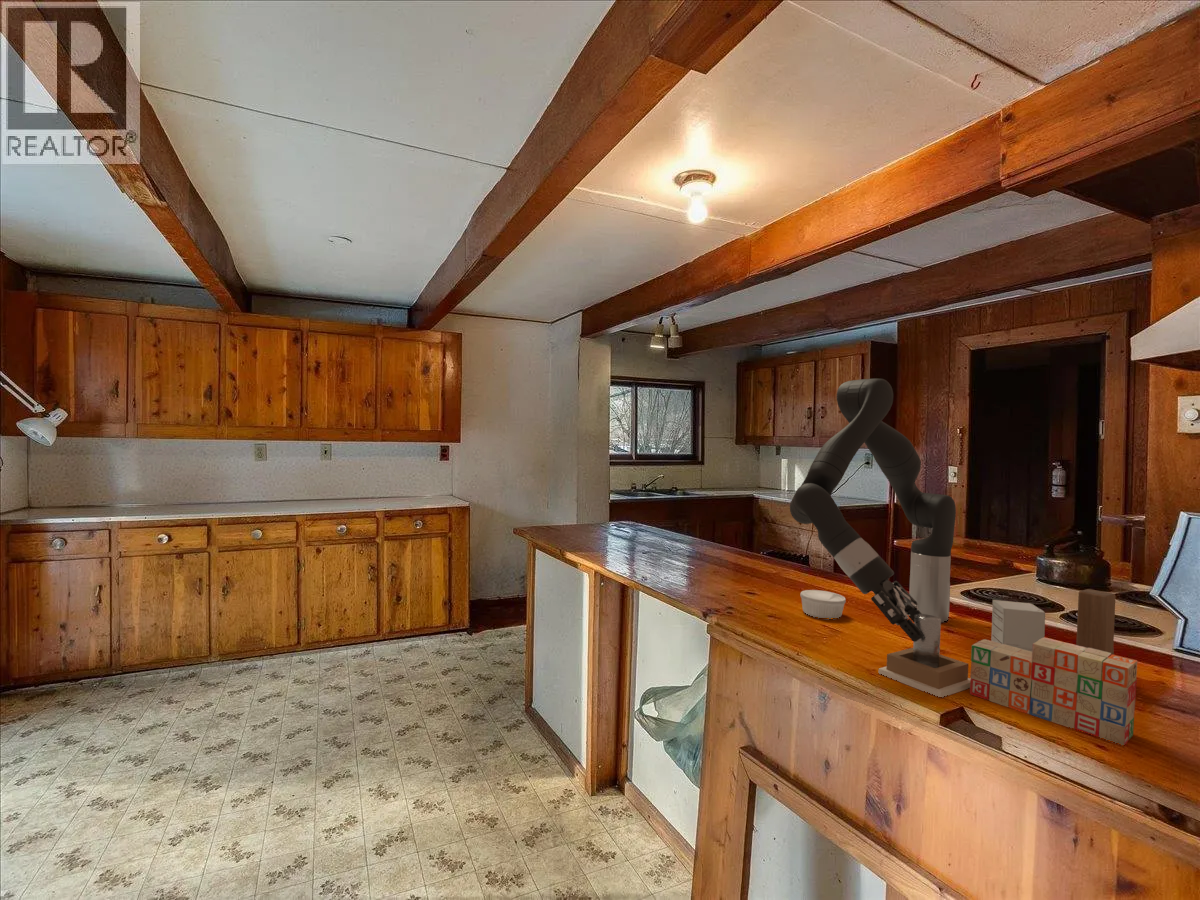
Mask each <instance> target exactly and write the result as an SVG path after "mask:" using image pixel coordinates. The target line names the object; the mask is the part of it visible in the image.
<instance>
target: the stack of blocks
mask: <svg viewBox="0 0 1200 900" xmlns="http://www.w3.org/2000/svg"><path fill="white" fill-rule="evenodd" d="M970 654H971V655H970V661H971V664H970V674H969V675H970V677H969V678H970V679H971V681H970V688H969V695H971V696H975V697H978V698H981V699H982V700H983V699H984V700H986V701H989V702H992V703H994V704H997V705H1000V706H1003V707H1006V708H1009V709H1012V710H1015V711H1018V712H1020V713H1021V712H1022V713H1023V714H1026V715H1031V716H1033V717H1037V718H1039V719H1043V720H1046V721H1048V722H1052V723H1054V724H1057V725H1061V726H1064V727H1067V728H1069V727H1070V728H1069V729H1072V728H1074V729H1073V730H1075V729H1077V730H1076V731H1078V730H1080V731H1083V732H1086V733H1089V734H1092V735H1095V736H1098V737H1100V738H1099V739H1101V738H1104V739H1106V740H1105V741H1107V740H1110V741H1113V742H1115V743H1114V744H1116V743H1119V744H1121V745H1120V746H1122V745H1125V744H1126V745H1127V744H1128V742H1129V740H1130V739H1131V738H1132V737H1133V736H1134V728H1135V727H1134V724H1135V722H1134V721H1135V710H1136V709H1135V708H1136V697H1137V683H1138V682H1137V681H1138V680H1137V673H1138V660H1137V659H1133V658H1129V657H1125V656H1124V657H1123V656H1120V655H1118V654H1117V655H1116V654H1114V655H1112V654H1111V653H1109V652H1105V651H1101V650H1097V649H1093V648H1086V647H1082V646H1078V645H1076V644H1073V643H1069V642H1064V641H1060V640H1056V639H1052V638H1048V637H1045V636H1044V637H1043V638H1041V639H1040V640H1038V641H1037V642H1035V643H1033V648H1032V652H1031V651H1028V650H1023V649H1020V648H1017V647H1013V646H1009V645H1005V644H1001V643H997V642H994V641H991V640H989V639H987V638H985V639H981V640H978V641H977V642H975V643H973V644H972V645H971V653H970ZM1080 731H1079V732H1080ZM1083 732H1082V733H1083ZM1086 733H1085V734H1086ZM1089 734H1088V735H1089ZM1092 735H1091V736H1092ZM1095 736H1094V737H1095ZM1098 737H1097V738H1098ZM1104 739H1103V740H1104ZM1110 741H1109V742H1110ZM1113 742H1112V743H1113ZM1119 744H1118V745H1119ZM1126 745H1125V746H1126Z"/></svg>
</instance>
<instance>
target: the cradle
mask: <svg viewBox="0 0 1200 900" xmlns="http://www.w3.org/2000/svg"><path fill="white" fill-rule="evenodd" d="M878 673H879V675H881V674H882V676H883V675H884V676H883V677H886V676H887V678H889V679H891V678H892V680H894V681H896V680H897V682H900V683H901V684H903V685H907V686H909V687H911V688H913V689H917V690H919V691H922V692H924V691H925V693H927V692H928V693H927V694H929V693H930V695H932V694H933V695H932V696H934V695H935V697H937V696H938V698H939V697H942V698H945V697H947V695H948V696H951V695H954V694H956V693H959V692H963V691H965V690H968V689H970V681H971V677H969V663H968V662H964V661H960V660H958V659H955V658H952V657H949V656H945V655H943V654H940V653H939V667H938V668H933V667H930V666H927V665H924V664H921V663H919V662H916V661H913V647H911V648H906V649H902V650H898V651H895V652H891V653H887V654H886V666H883V667H880V668H878ZM944 696H945V697H944Z"/></svg>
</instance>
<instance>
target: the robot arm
mask: <svg viewBox="0 0 1200 900" xmlns="http://www.w3.org/2000/svg"><path fill="white" fill-rule="evenodd" d="M893 402H894V391H893V388H892V385H891V384H890V382H889V381H887V380H886V379H884V378H863V379H854V380H848V381H844V382H843V383H841V384H840V385H839V387H838V388H837V391H836V403H837V406H838V408H839V410H840V412H841V415H843V417H844V418H845V420H846V421H847V422H848V424H847V425H845V426H844V428H843V427H842V428H841V430H840V431H838V432H837V433H836V434H834V435H833V436H832V437H830V438H829V439H828V440H827V441H826V442H825V443H824V444H823V445H822V447H821V448H820V449H819V451H818V453H817V454H816V456H815V458H814V460H813V461H812V463H811V465H810V466H809V469H808V472H807V474H806V476H805V479H804V480H803V482H802V483H801V485H800V486H799V487H798V488H797V489H796V491H795V493H794V495H793V497H792V498H791V501H790V504H789V512H790V514H791V516H792V518H793V519H794V520H795V522H798V523H799V524H802V525H803V524H804V525H809V524H813V526H814V527H815V529H816V530H817V538H818V540H819V542H820V543H821V545H822V546H823V547H824V548H825V549H826V550H827V552H828V553H829V554H830V555H831V556H832V558H833V559H834V560H835V562H836V563H837V564H838V566H839V567H840V569H841V570H842V571H843V572H844V573H845V575H846V576H847V577H848V578H849V579H850V580H851V581H852V583H853V584H854V585H855V586H856V588H858V590H859V591H860V592H861V593H862V594H863V595H867V594H869V593H871V592H873V594H874V595H873V596H872V597H871V598H870V599H871V601H872V603H874V605H875V606H876V607H877V608H878V609H879V610H880V612H881V613H882V614H883V615H884V617H885V618H886V619H887V621H889V622H890V624H891V625H893V626H894V625H896V626H899V627H900V628H901V629H902V630H903V632H904V633H905V635H907V636H908V638H909V639H910V640H911V641H912V642H916V641H917V640H919V639H921V638H922V637H923V633H922V632H921V631H920V630H919V629H918V628H917V627H916V625H915V624H914V619H915V615H916V614H926V615H932V616H936V617H938V618H940V619H941V623H945V622H944V621H947V620H948V621H949V618H950V601H951V600H950V598H951V582H950V581H951V580H950V579H951V557H952V547H953V544H954V536H955V535H954V533H955V523H956V515H957V511H956V510H957V507H956V503H955V500H954V499H953V497H952V496H950V495H948V494H940V493H939V494H938V493H929V492H923V491H921V489H919V488H918V486H917V485H916V482H917V478H918V476H919V474H920V471H921V467H922V461H921V458H920V456H919V453H918V452H917V451H916V448H915V447H914V445H913V443H912V442H911V441H910V440H909V438H908V437H906V436H905V435H904V434H903V433H901V432H899V431H898V430H897V429H896V428H894V427H892V426H890V425H889V424H887V423H886V422H884V421H883V420H884V419H885V417H886V416H887V415H888V413H889V411H890V410H891V407H892V405H893ZM864 444H865V446H866V447H867V449H868V451H869V452H870V453H871V455H872V457H873V459H874V460H875V462H876V464H877V466H878V467H879V469H880V470H881V472H882V473H883V475H884V476H885V478H886V479H887V481H888V482H889V484H890V486H891V487H892V489H893V491H894V493H895V495H896V497H897V500H898V502H899V504H900V506H901V509H902V510H903V512H904V515H905V517H906V518H907V520H908V522H909V523H911V524H912V525H914V526H916V527H921V528H927V529H932V530H931V534H930V536H928V537H925V538H921V539H915V540H913V541H912V542H911V544H910V545H911V547H910V572H909V574H910V575H909V588H908V589H909V591H907V590H906V589H905V588H904V587H903V586H902V585H901V583H900V582H899V581H897V580H895V581H893V582H891V581H890V580H889V579H890V578H891V577H892V576H894V575H895V572H894V570H893V569H892V568H891V566H889V564H888V563H886V561H885V560H884V559H883V558H882V557H881V556H880V555H879V553H878V552H877V551H876V550H875V549H874V548H873V547H872V546H871V545H870V544H869V543H868V542H867V541H866V540H865V539H863V538H862V537H861V535H860V534H859V533H858V531H856V530H855V529H854V528H853V526H852V525H850V524H849V523H848V521H846V518H845V517H844V514H843V513H842V511H841V510H840V508H839V506H838V505H837V503H836V502H835V500H834V498H833V497H832V496H831V495H832V494H833V492H834V490H835V489H836V488H837V486H838V485H839V483H840V482H842V479H843V477H844V475H845V473H846V471H847V469H848V468H849V466H850V464H851V463H852V460H853V459H854V457H855V456H856V454H857V452H858V451H859V449H860V448H861V447H862V446H863V445H864ZM948 617H949V618H948ZM948 621H947V622H948Z"/></svg>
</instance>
